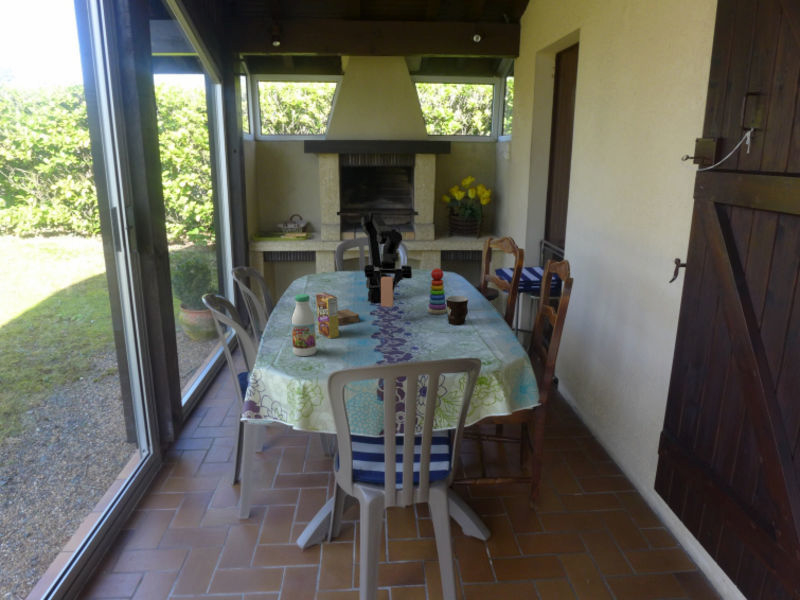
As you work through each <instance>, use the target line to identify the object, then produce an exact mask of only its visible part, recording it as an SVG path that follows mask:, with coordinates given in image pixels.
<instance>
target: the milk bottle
mask: <svg viewBox="0 0 800 600" xmlns="http://www.w3.org/2000/svg"><path fill="white" fill-rule="evenodd" d="M294 300H295V309H294V311H293V314H292V317H291V333H292V337H291V338H292V351H293V354H294V355H295V356H298V357H309V356H313V355H315V354H316V352H317V337H316V336H317V334H316V319H315V315H314V313H313V311H312V309H311V307H310V295H309V294H307V293H301V294H300V293H299V294H296V295H295V296H294Z"/></svg>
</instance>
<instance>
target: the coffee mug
mask: <svg viewBox="0 0 800 600" xmlns="http://www.w3.org/2000/svg"><path fill="white" fill-rule="evenodd" d="M445 299H446V302H445V303H446V308H447V311H446V313H447V322H448V324H449V325H450V324H452V326H457V325H458V326H462V325H461V324H464V323H466V319H467V315H468V312H469V311H468V309H469V308H468V303H469V298H468V297H467V296H461V295H451V296H447V297H445ZM464 325H465V324H464Z"/></svg>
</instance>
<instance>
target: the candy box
mask: <svg viewBox="0 0 800 600" xmlns="http://www.w3.org/2000/svg"><path fill="white" fill-rule="evenodd" d="M315 297H316V299H315V300H316V301H315V302H316V311H317V312H316V313H317V315H316V316H317V327H318V328H317V331H318V333H319V334H320V335H322V336H325V338H328V339H336V338H338V337H340V336H339V335H340V334H339V331H340V330H339V329H340V328H339V326H338V311H339V308H338V307H339V306H338V297H337V296H334V295H333V294H330V293H327V292H319V293H316V294H315Z"/></svg>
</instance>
